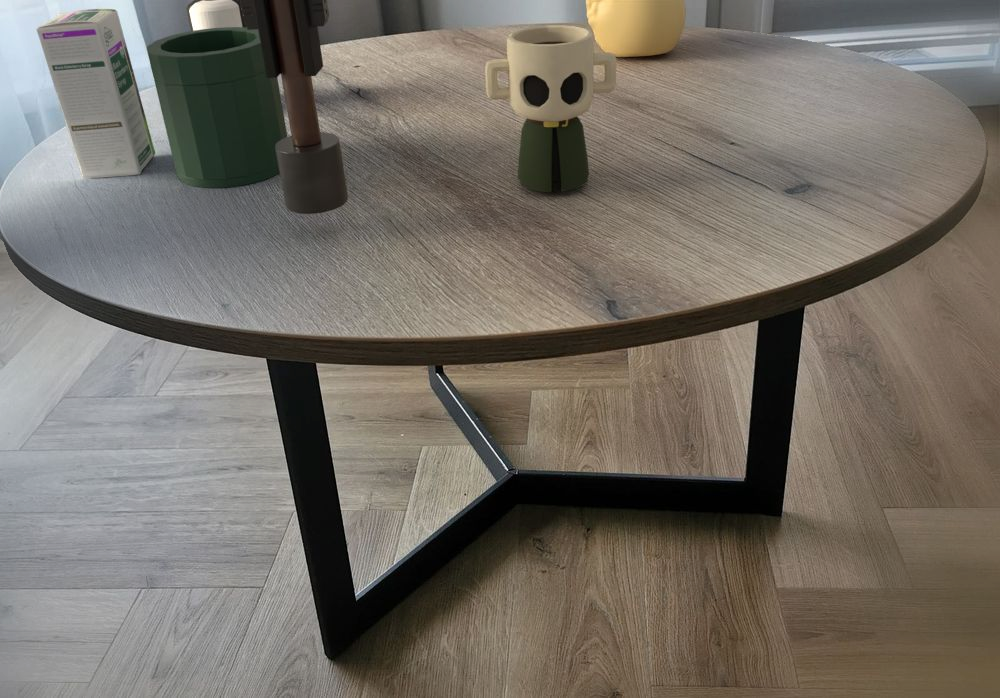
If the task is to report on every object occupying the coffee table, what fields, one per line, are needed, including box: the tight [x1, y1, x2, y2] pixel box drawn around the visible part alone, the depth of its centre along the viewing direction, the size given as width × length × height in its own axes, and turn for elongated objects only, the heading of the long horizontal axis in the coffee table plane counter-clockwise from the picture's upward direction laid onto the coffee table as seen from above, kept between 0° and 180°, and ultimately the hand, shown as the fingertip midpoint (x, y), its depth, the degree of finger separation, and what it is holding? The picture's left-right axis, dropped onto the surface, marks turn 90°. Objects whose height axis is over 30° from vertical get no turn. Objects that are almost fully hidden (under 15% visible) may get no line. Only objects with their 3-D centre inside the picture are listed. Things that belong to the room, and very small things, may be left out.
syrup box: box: [35, 8, 156, 179], centre depth 91 cm, size 6×6×14 cm
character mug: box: [484, 24, 617, 193], centre depth 81 cm, size 11×7×13 cm, turn 92°
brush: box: [268, 0, 349, 215], centre depth 72 cm, size 5×5×19 cm
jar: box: [146, 27, 289, 189], centre depth 90 cm, size 11×11×12 cm
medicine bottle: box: [185, 0, 247, 31], centre depth 107 cm, size 7×7×12 cm
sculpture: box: [585, 0, 687, 58], centre depth 119 cm, size 12×12×11 cm
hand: (295, 71), depth 72 cm, fingers closed on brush, 2 cm apart
